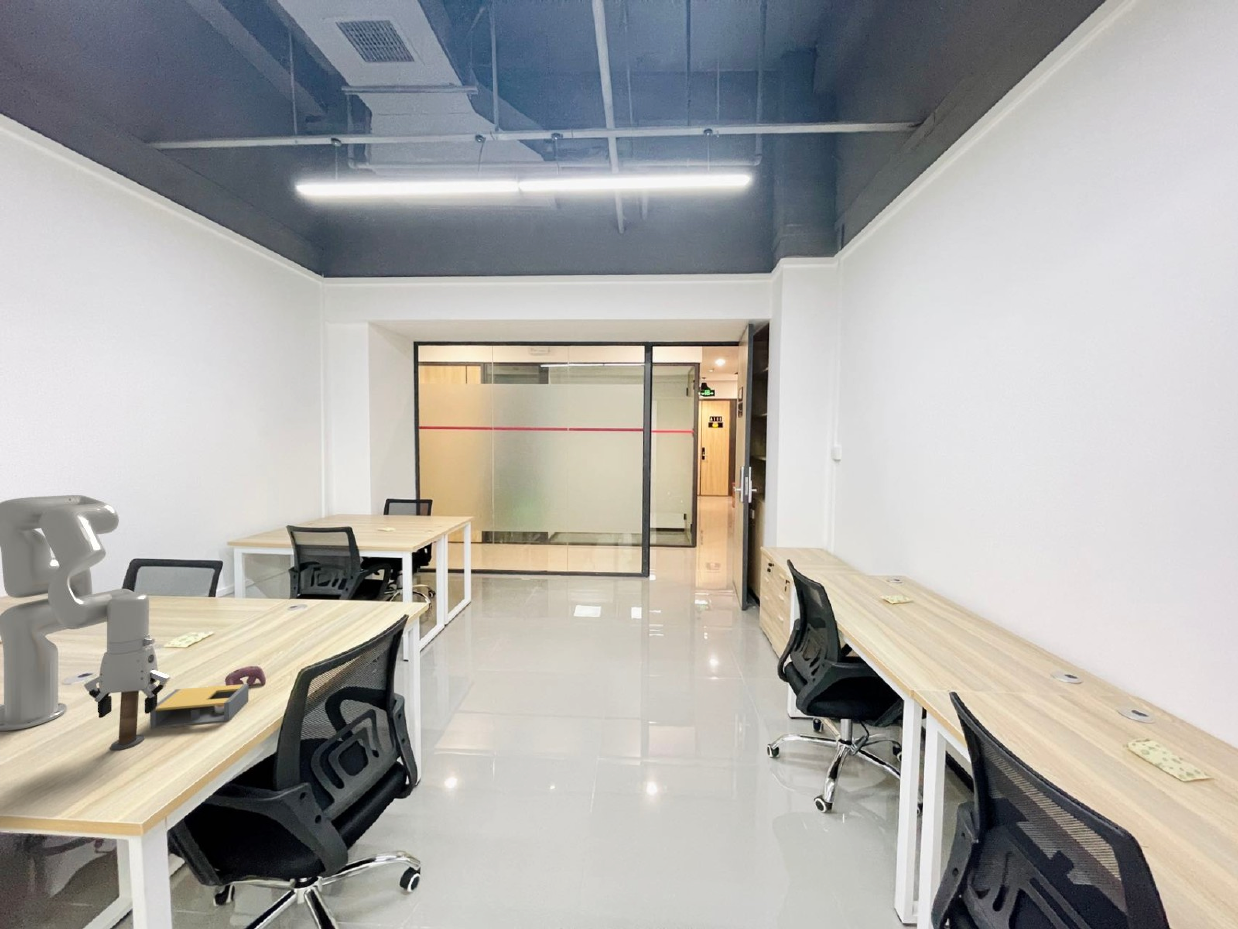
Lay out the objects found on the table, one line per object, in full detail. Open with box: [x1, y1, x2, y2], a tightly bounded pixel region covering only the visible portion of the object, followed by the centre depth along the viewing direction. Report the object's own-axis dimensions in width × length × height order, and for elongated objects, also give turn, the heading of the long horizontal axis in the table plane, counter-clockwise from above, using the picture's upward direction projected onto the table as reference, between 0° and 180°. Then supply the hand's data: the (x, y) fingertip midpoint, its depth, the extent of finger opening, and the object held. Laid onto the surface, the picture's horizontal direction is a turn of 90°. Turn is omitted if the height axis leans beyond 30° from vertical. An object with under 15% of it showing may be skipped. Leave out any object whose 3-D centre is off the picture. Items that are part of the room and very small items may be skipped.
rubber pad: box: [110, 734, 145, 751], centre depth 125 cm, size 6×6×1 cm
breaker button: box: [215, 705, 224, 713], centre depth 140 cm, size 4×4×2 cm
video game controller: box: [224, 665, 267, 686], centre depth 155 cm, size 10×5×7 cm, turn 142°
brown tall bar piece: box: [118, 691, 140, 745], centre depth 125 cm, size 3×3×13 cm
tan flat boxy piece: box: [149, 683, 250, 729], centre depth 139 cm, size 18×11×5 cm, turn 104°
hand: (128, 713), depth 125 cm, fingers open, 9 cm apart
